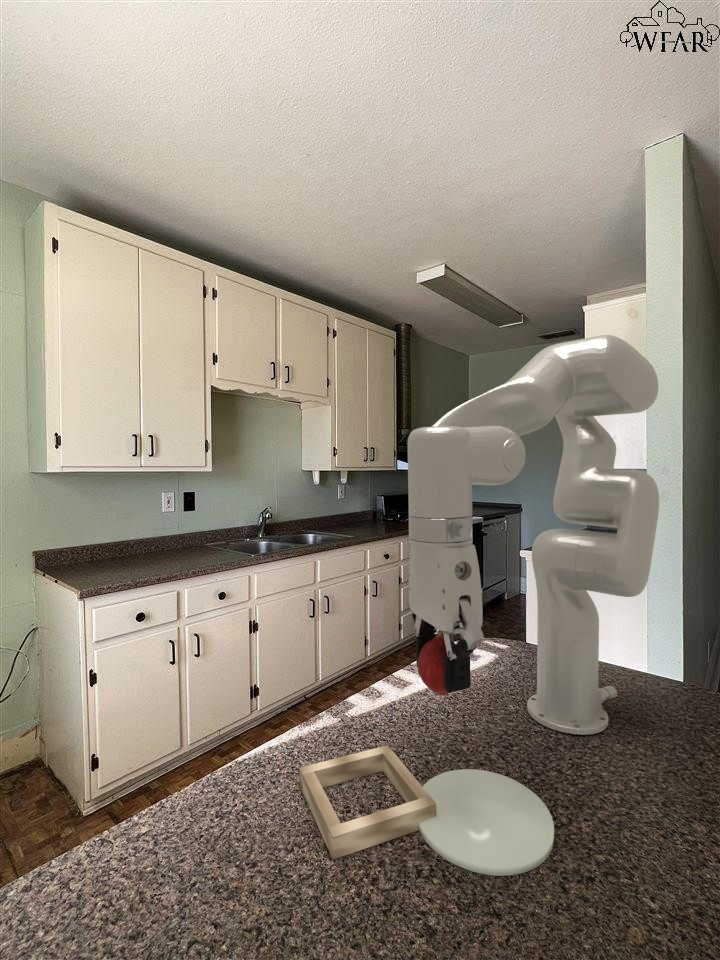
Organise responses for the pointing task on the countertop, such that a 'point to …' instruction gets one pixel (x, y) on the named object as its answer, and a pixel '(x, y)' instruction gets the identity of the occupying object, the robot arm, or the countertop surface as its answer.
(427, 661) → the onion
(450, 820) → the plate
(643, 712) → the countertop surface
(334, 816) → the frame
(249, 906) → the countertop surface
